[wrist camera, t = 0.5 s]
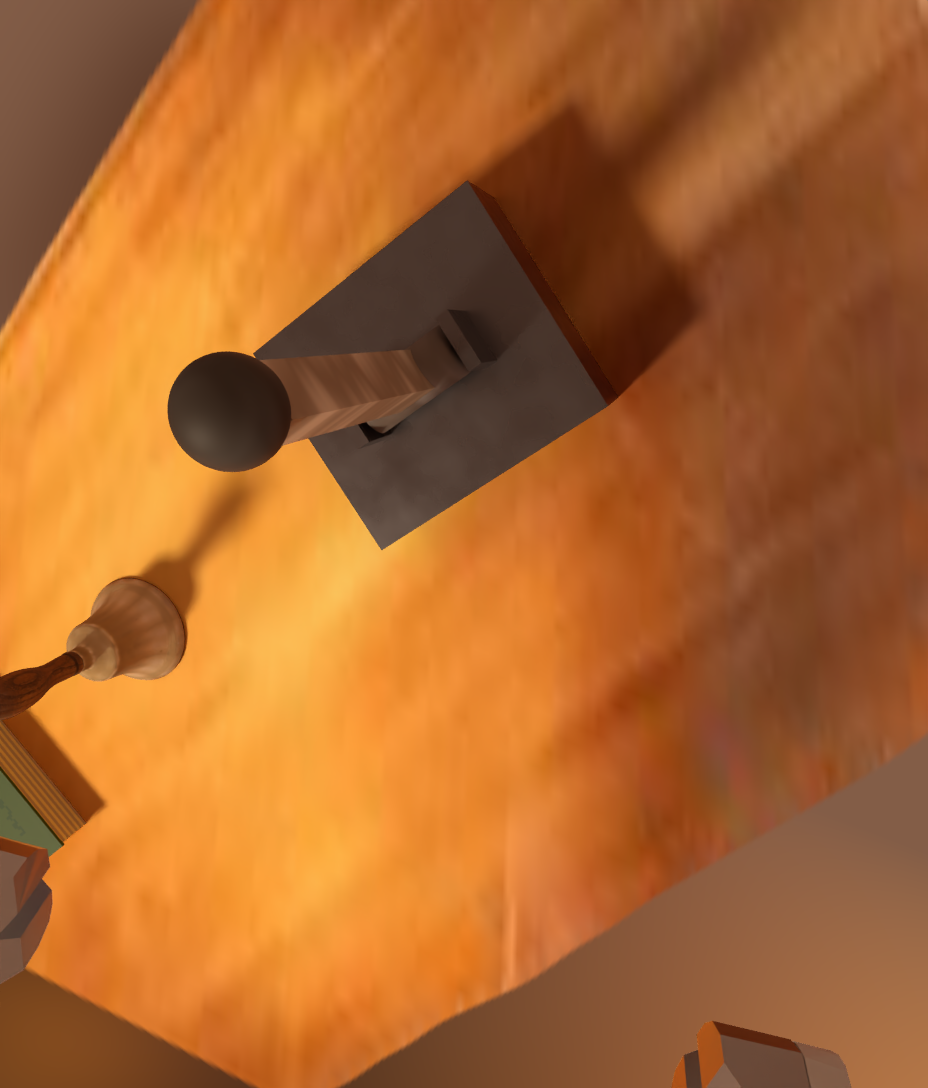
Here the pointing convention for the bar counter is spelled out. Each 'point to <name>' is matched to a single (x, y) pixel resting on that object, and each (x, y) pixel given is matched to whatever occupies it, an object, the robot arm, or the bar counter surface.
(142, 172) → the bar counter surface
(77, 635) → the hand bell
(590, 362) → the base
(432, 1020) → the bar counter surface
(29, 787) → the hardcover book
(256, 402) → the lever
